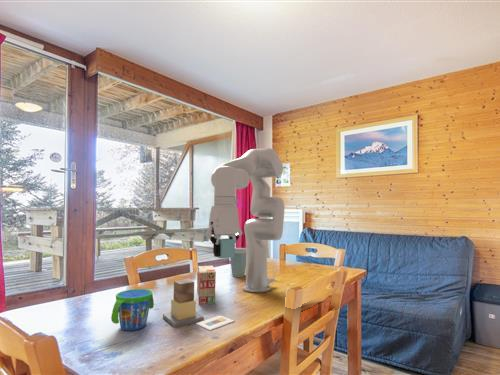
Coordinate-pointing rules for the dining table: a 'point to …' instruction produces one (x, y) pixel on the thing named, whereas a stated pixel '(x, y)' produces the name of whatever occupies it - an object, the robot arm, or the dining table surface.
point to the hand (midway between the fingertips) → (224, 254)
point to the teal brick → (226, 248)
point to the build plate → (184, 321)
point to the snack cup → (132, 308)
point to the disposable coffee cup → (238, 262)
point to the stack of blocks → (206, 284)
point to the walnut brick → (183, 290)
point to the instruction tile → (214, 322)
